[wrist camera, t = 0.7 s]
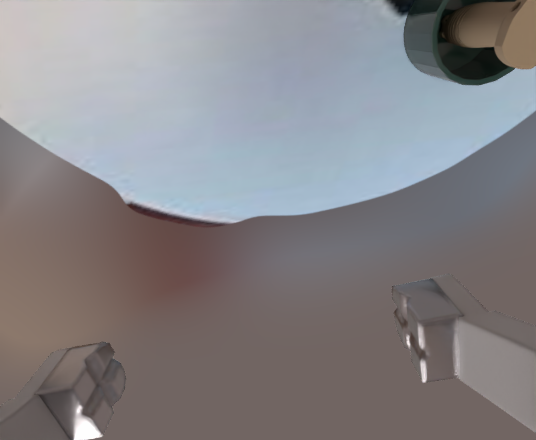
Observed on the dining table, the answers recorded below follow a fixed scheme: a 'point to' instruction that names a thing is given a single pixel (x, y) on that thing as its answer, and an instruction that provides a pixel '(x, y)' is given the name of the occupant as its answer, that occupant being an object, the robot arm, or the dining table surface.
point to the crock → (448, 46)
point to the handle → (496, 30)
